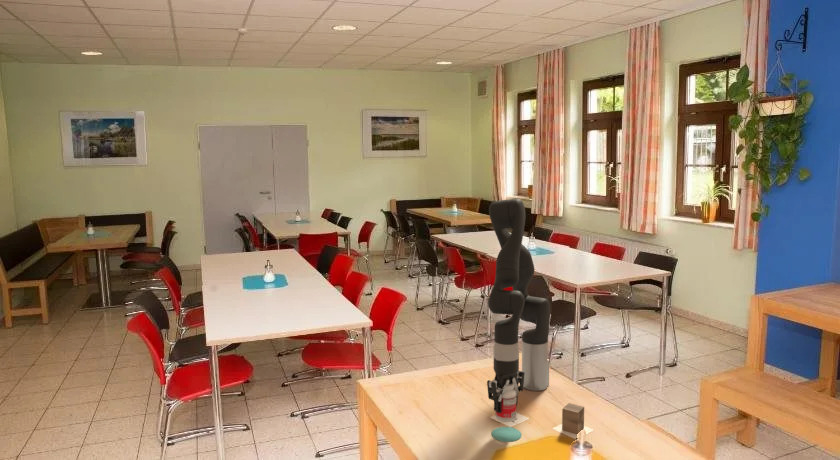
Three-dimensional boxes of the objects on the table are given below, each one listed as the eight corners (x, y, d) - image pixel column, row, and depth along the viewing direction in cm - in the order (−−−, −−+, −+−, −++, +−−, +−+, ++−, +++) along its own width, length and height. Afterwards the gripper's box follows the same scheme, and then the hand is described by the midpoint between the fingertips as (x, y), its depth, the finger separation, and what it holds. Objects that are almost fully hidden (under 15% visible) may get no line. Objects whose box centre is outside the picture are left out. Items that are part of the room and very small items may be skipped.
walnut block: (568, 424, 187) (568, 402, 186) (583, 428, 184) (584, 406, 183) (562, 430, 183) (562, 408, 182) (577, 434, 180) (578, 412, 179)
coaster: (505, 425, 188) (505, 424, 187) (527, 435, 181) (527, 434, 180) (485, 434, 182) (485, 432, 182) (507, 445, 175) (507, 444, 175)
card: (570, 420, 190) (570, 419, 190) (594, 430, 183) (594, 429, 183) (551, 429, 184) (551, 428, 184) (575, 439, 178) (575, 439, 177)
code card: (509, 409, 198) (509, 409, 198) (529, 419, 191) (529, 418, 191) (489, 417, 193) (489, 417, 193) (510, 427, 186) (510, 427, 186)
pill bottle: (494, 413, 184) (494, 379, 182) (514, 413, 184) (514, 379, 182) (497, 422, 178) (497, 387, 176) (517, 422, 177) (517, 387, 176)
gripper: (513, 347, 185) (513, 398, 187) (480, 357, 176) (480, 411, 179) (531, 353, 179) (531, 406, 182) (498, 364, 171) (498, 420, 173)
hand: (505, 408), depth 180 cm, fingers closed on pill bottle, 6 cm apart
